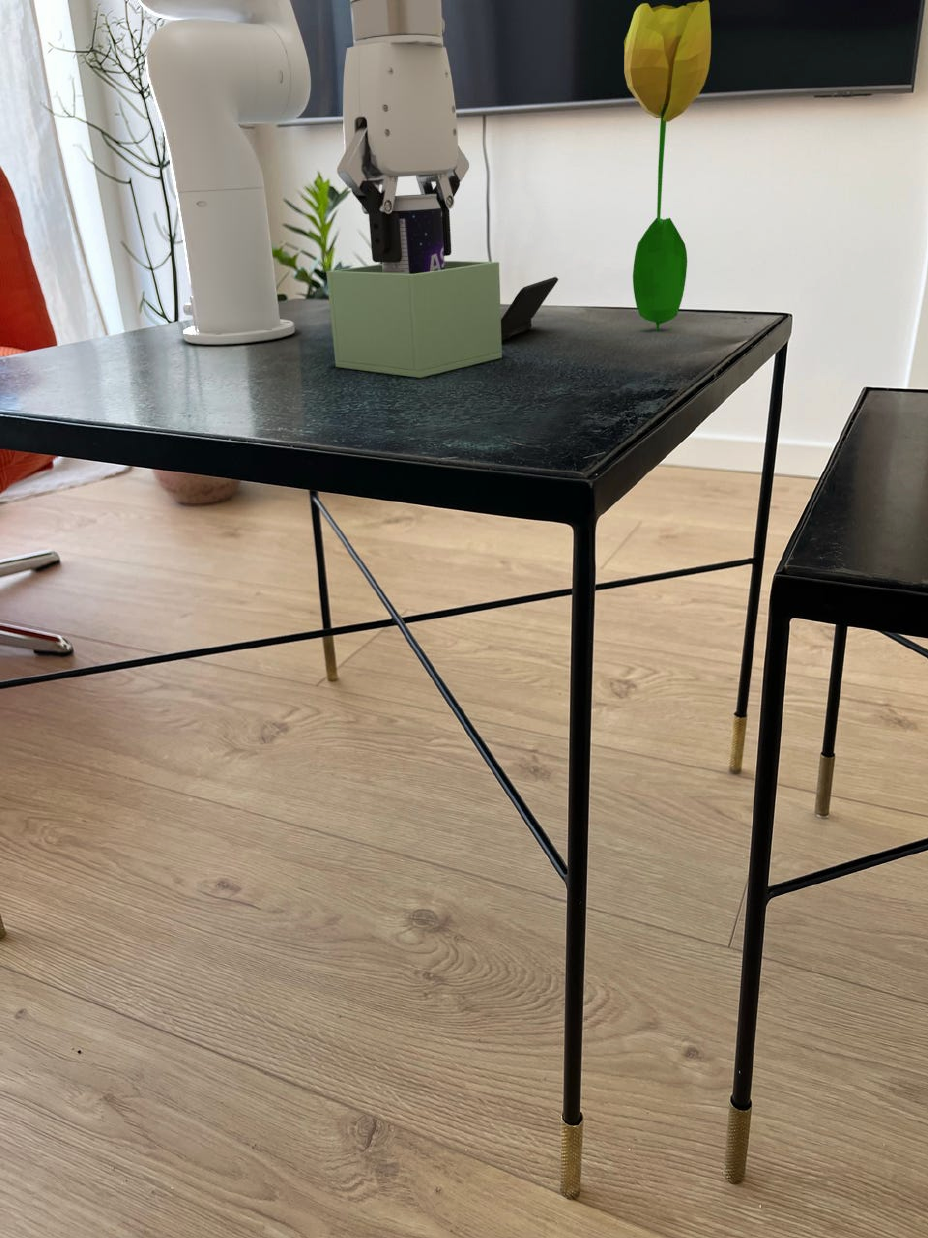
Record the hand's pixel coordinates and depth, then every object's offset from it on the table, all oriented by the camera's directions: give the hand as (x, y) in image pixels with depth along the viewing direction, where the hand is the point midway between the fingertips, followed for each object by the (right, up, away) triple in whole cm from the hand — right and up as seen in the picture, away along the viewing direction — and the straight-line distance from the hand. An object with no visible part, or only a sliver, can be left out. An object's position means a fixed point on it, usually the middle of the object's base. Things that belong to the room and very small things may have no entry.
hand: (412, 256), depth 89 cm
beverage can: (0, -6, +3) cm, 7 cm away
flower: (+25, -2, +15) cm, 29 cm away
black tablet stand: (+9, -3, +16) cm, 19 cm away
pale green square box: (0, -9, +4) cm, 10 cm away
